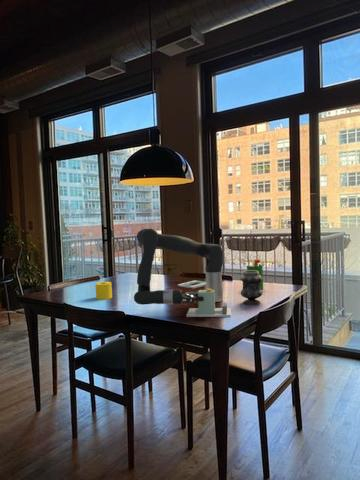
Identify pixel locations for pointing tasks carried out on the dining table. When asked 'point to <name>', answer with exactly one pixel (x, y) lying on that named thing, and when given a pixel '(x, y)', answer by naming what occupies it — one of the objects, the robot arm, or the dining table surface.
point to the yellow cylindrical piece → (103, 290)
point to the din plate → (218, 313)
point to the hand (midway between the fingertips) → (204, 296)
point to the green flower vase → (257, 268)
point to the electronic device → (187, 284)
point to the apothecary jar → (251, 287)
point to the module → (206, 301)
